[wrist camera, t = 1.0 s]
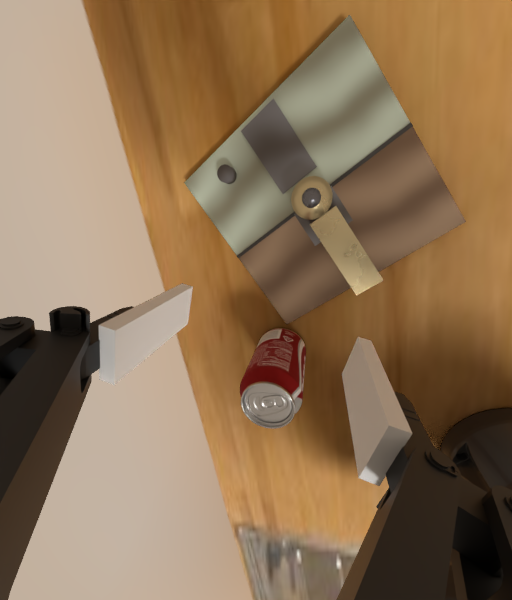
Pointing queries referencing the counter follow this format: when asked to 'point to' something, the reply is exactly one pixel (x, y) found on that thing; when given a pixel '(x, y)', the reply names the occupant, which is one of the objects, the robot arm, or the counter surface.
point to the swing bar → (334, 232)
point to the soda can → (274, 379)
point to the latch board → (324, 176)
